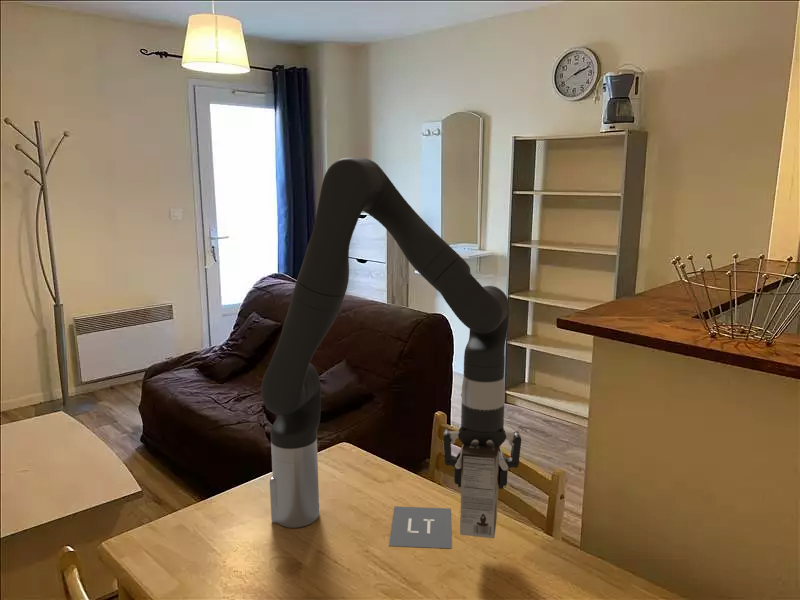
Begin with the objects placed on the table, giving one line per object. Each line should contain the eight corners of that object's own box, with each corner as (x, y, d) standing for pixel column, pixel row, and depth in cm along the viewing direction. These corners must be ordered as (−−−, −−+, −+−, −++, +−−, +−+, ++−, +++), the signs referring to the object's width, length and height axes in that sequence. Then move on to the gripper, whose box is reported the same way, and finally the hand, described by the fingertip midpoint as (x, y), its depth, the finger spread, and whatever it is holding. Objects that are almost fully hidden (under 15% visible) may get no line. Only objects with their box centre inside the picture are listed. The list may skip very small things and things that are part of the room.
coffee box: (464, 508, 118) (466, 430, 115) (497, 511, 117) (500, 433, 114) (459, 535, 110) (461, 452, 106) (495, 539, 108) (498, 455, 105)
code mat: (388, 547, 118) (388, 545, 118) (394, 507, 132) (394, 506, 131) (451, 549, 117) (451, 548, 117) (450, 509, 131) (450, 508, 131)
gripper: (442, 407, 105) (440, 495, 109) (527, 409, 104) (522, 498, 108) (442, 391, 112) (440, 474, 116) (521, 393, 111) (517, 477, 115)
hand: (480, 485), depth 112 cm, fingers closed on coffee box, 7 cm apart
